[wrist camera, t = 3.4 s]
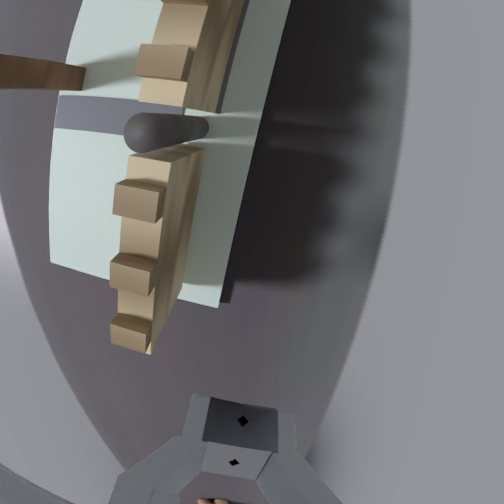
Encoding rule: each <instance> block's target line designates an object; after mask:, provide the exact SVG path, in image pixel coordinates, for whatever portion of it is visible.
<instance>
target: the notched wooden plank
mask: <svg viewBox="0 0 504 504" xmlns="http://www.w3.org/2000/svg"><path fill="white" fill-rule="evenodd" d="M205 153H206V148H204V147H198V146H193V145H188V144H182V143H181V144H177V145H173V146H169V147H165V148H162V149H158V150H154V151H151V152H147V153H136V154H132V155H129V156H128V163H127V171H126V179H124V180H122V181H120V182H118V183H116V184H115V189H114V199H113V211H112V214H114V215H118V216H122V218H121V231H120V247H119V253H118V254H117V255H116V256H115V257H114V258H113V259H112V260H111V261H110V287H113V288H117V289H118V313H117V315H116V316H115V317H114V319H113V320H112V322H111V323H110V332H111V343H113V344H116V345H119V346H123V347H126V348H129V349H132V350H136V351H139V352H142V353H146V354H150V355H151V353H152V351H153V348H154V346H155V344H156V342H157V340H158V337H159V335H160V333H161V331H162V329H163V327H164V325H165V322H166V320H167V318H168V316H169V314H170V312H171V310H172V308H173V306H174V304H175V301H176V299H177V297H178V295H179V293H180V291H181V289H182V286H183V279H184V272H185V266H186V259H187V252H188V246H189V240H190V234H191V228H192V222H193V216H194V210H195V205H196V199H197V194H198V188H199V183H200V178H201V173H202V168H203V163H204V158H205Z"/></svg>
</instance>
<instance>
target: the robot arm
mask: <svg viewBox="0 0 504 504" xmlns="http://www.w3.org/2000/svg"><path fill="white" fill-rule="evenodd" d="M200 471H205V472H210V473H216V474H223V475H229V476H235V477H241V478H247V479H254V480H256V482H257V484H258V486H259V488H260V489H261V491H262V493H263V495H264V496H265V498H266V500H267V501H268V503H269V504H342V502H341V501H340V500H339V499H338V498H337V497H336V496H335V494H334V493H333V492H332V491H331V490H330V489H329V488H328V487H327V485H326V484H325V483H324V482H323V480H322V479H321V478H320V477H319V476H318V474H317V473H316V472H315V471H314V470H313V468H312V467H311V466H310V465H309V464H308V462H307V461H306V460H305V459H304V457H303V456H302V455H297V444H296V429H295V415H294V412H293V411H287V410H280V409H275V408H268V407H261V406H255V405H248V404H240V403H236V402H231V401H227V400H222V399H218V398H214V397H211V398H210V397H209V396H205V395H201V394H197V393H193V395H192V398H191V402H190V406H189V410H188V414H187V418H186V422H185V425H184V429H183V433H182V436H179V435H176V436H175V437H173V438H172V439H171V440H169V441H168V442H166V443H165V444H164V445H162V446H161V447H160V448H158V449H157V450H155V451H154V452H153V453H151V454H150V455H148V456H147V457H145V458H144V459H142V460H141V461H140V462H138V463H137V464H135V465H134V466H132V467H131V468H129V469H128V470H126V471H125V472H123V473H122V474H120V475H119V476H118V478H117V481H116V484H115V486H114V489H113V492H112V495H111V498H110V501H109V503H108V504H180V498H179V497H178V496H177V495H176V494H177V493H178V492H179V491H180V490H181V489H183V488H184V487H185V486H186V485H187V484H188V483H189V482H190V481H191V480H192V479H193V478H194V477H195V476H196V475H198V474H199V473H200ZM0 504H74V503H71V502H69V501H67V500H65V499H63V498H61V497H59V496H57V495H55V494H53V493H51V492H49V491H47V490H45V489H43V488H41V487H39V486H37V485H36V484H34V483H32V482H30V481H29V480H27V479H25V478H23V477H22V476H20V475H18V474H17V473H15V472H13V471H12V470H10V469H9V468H7V467H5V466H4V465H2V464H1V463H0Z"/></svg>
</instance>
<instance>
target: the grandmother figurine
mask: <svg viewBox="0 0 504 504" xmlns="http://www.w3.org/2000/svg"><path fill="white" fill-rule="evenodd" d="M197 501H198V503H199V504H213V503H212V502H211V501H210V500H206V499H198V500H197ZM214 504H228V501H227V500H224V499H215V500H214Z"/></svg>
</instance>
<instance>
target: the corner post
mask: <svg viewBox="0 0 504 504" xmlns="http://www.w3.org/2000/svg"><path fill="white" fill-rule="evenodd" d="M85 73H86V68H85V67H80V66H75V65H70V64H65V63H59V62H53V61H47V60H41V59H35V58H27V57H20V56H11V55H2V54H0V89H39V90H62V91H82V87H83V82H84V77H85Z"/></svg>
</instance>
